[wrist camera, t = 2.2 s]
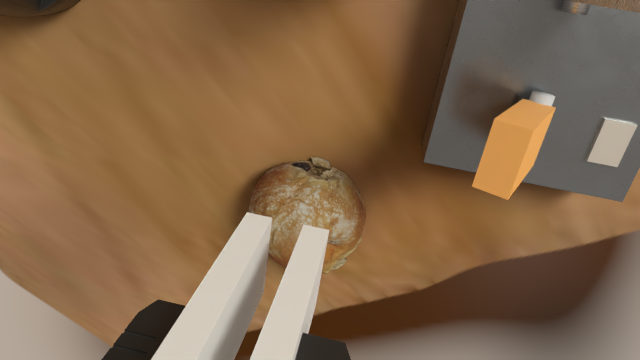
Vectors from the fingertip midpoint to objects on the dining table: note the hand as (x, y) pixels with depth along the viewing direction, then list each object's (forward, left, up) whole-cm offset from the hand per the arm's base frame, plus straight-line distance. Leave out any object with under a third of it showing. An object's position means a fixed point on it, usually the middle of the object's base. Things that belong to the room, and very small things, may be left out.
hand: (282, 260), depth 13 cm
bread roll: (-2, -12, -25) cm, 28 cm away
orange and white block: (+12, 0, -19) cm, 23 cm away
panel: (+13, +5, -24) cm, 28 cm away
